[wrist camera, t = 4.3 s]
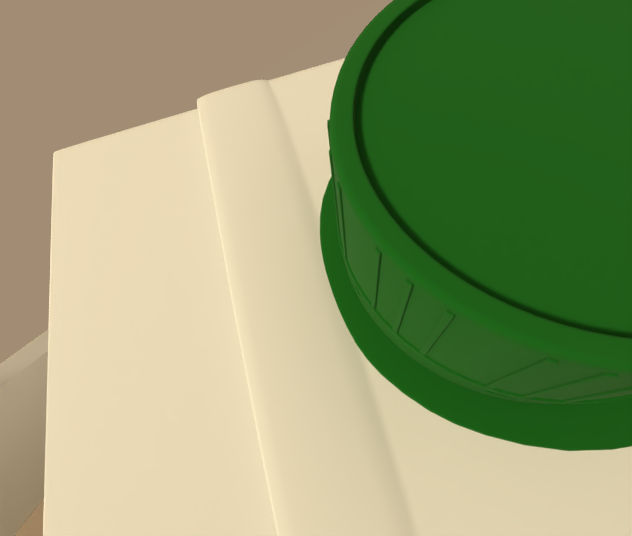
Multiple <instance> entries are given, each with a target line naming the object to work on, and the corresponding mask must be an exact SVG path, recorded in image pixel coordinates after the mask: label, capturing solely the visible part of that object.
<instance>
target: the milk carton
mask: <svg viewBox="0 0 632 536" xmlns="http://www.w3.org/2000/svg"><path fill="white" fill-rule="evenodd" d="M197 107H198V109H195V110H191V111H188V112H185V113H181V114H178V115H174V116H171V117H168V118H164V119H161V120H158V121H154V122H151V123H148V124H144V125H141V126H138V127H134V128H131V129H127V130H124V131H121V132H118V133H114V134H111V135H107V136H104V137H101V138H97V139H94V140H90V141H87V142H84V143H81V144H78V145H74V146H71V147H68V148H64V149H61V150H58V151H56V152H54V156H53V184H52V185H53V186H52V221H51V223H52V224H51V258H50V295H49V296H50V297H49V333H48V370H47V407H46V445H45V482H44V519H43V536H632V0H393V1H392V2H391V3H390V4H389V5H387V6H386V7H385V8H384V9H383V10H382V11H381V12H380V13H379V14H378V15H377V16H376V17H375V18H374V19H373V20H372V21H371V22H370V23H369V24H368V25H367V26H366V28H365V29H364V30H363V32H362V33H361V34H360V35H359V37H358V38H357V39H356V41H355V43H354V44H353V46H352V47H351V49H350V51H349V52H348V55H347V56H346V58H344V59H341V60H337V61H334V62H330V63H327V64H323V65H320V66H316V67H313V68H310V69H306V70H303V71H299V72H296V73H293V74H289V75H286V76H282V77H279V78H276V79H272V80H268V81H266V80H255V81H251V82H247V83H243V84H239V85H236V86H232V87H229V88H226V89H222V90H219V91H216V92H213V93H210V94H207V95H205V96H203V97H201V98H199V99H198V100H197Z"/></svg>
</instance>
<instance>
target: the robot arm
mask: <svg viewBox="0 0 632 536" xmlns="http://www.w3.org/2000/svg"><path fill="white" fill-rule="evenodd" d="M48 333H49V329H48V330H47V331H45V332H44V333H42V334H41V335H40V336H38V337H37V338H36V339H34V340H33V341H31V342H30V343H29V344H27V345H26V346H24V347H23V348H22V349H20V350H19V351H18V352H16V353H15V354H13V355H12V356H11V357H9V358H8V359H7V360H5V361H4V362H2V363H1V364H0V536H14V535H15V534H16V533H17V532H18V530H19V529H20V528H21V527H22V525H23V524H24V523H25V521H26V520H27V519H28V518H29V516H30V515H31V514H32V513H33V511H34V510H35V509H36V507H37V506H38V505H39V504H40V502H41V501H42V500H43V499H44V482H45V445H46V407H47V370H48Z"/></svg>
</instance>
